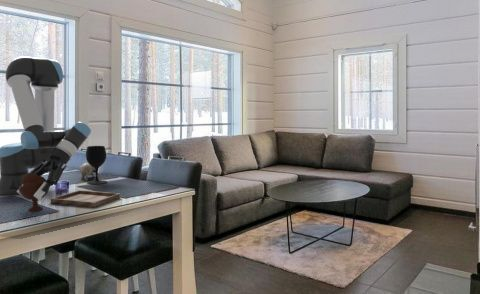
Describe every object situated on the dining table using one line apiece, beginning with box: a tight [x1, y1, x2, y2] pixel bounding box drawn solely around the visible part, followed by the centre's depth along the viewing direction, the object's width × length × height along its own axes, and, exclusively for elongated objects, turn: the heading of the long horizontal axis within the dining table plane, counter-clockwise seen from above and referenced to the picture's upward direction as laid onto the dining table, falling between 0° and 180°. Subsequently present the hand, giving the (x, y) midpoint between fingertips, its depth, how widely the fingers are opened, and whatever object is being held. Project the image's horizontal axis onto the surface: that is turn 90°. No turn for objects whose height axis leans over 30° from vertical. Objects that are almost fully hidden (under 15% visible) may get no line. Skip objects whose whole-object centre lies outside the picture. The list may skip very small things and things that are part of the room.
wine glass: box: [85, 145, 108, 186], centre depth 205 cm, size 10×10×20 cm
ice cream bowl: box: [19, 172, 50, 213], centre depth 149 cm, size 11×11×15 cm
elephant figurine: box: [78, 162, 95, 182], centre depth 218 cm, size 8×14×15 cm
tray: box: [50, 189, 121, 209], centre depth 165 cm, size 22×18×2 cm
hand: (27, 195), depth 146 cm, fingers closed on ice cream bowl, 11 cm apart
